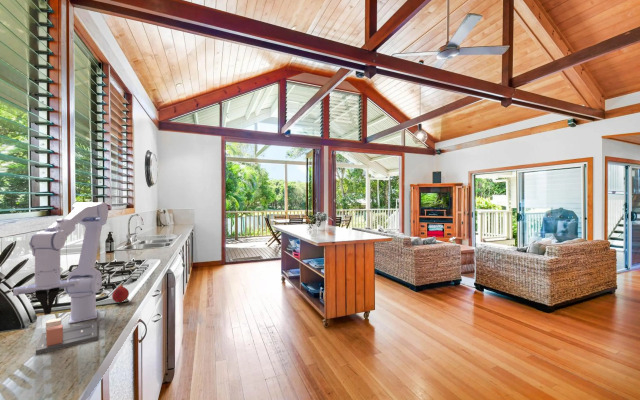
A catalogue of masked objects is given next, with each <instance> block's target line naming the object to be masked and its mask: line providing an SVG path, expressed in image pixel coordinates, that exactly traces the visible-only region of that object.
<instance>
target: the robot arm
mask: <svg viewBox="0 0 640 400" xmlns="http://www.w3.org/2000/svg"><path fill="white" fill-rule="evenodd" d="M108 217H109V207H108V205H107V203H105V201H103V202H80V201H77V202H75V203H74V204H73V205H71V211H70V212H69V214H68V215H66V217H64V218H57V219H56V220H55V221H54V222H53V223H52V224H50V225H49V226H48V227H47V228H46V229H44V230H43V231H37V232H36V233H34V234H33V235H32V236H31V238H30V240H29V243H28V245H29V248H30V249H31V251H32V253H31V254H32V256H33V257H34V284H29V285H22V286H16V287H14V288H13V290H12V291H13V292H12V294H13V295H12V296H14V297H15V296H19V295H24V294H31V293H34V294H35V295H34V296H35V298H36V299H37V301H38V303H40V305H41V307H42V310H43V315H45V316H46V315H49V314H50V315H51V314H52V307H53V305H54V302H55V299H56V298H57V297H58V294H59V292H60V290H61V289H63V291H64V293H65V294H66V295H68V297H70V314H69V319H68V324H74V323H79V322H83V321H89V320H93V319H97V318H98V309H97V308H96V305H97V304H96V302H97V301H96V300H97V299H96V297H97V296H96V295H97V293H98V292H99V291H100V289H101V287H102V285H103V280H102V279H103V278H102V277H103V276H102V275H103V274H102V272H101V271H100V270H99V269H97V268H96V267H95V266H96V260H97V256H98V250H99V244H100V241H101V235H102V229H103V226H104V225H106V224H107V221H108ZM77 224H80V226H81V225H82V226H83V227H85V231H84V234H83V240H82V245H81V250H80V254H79V258H78V265H77V267H76V268H75V269H74V270H72V271H71V272H69V273H68V276H67V278H66V279H65V280H64V279H63V280H61V249H62V248H64V246H65V245H66V244H65V243H66V241H67V240H68V237H69V236H70V235H71V234H72V233H73V232H74V231H75V230H76V225H77Z"/></svg>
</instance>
